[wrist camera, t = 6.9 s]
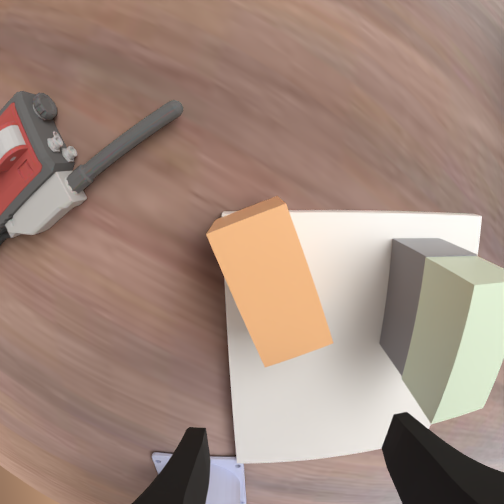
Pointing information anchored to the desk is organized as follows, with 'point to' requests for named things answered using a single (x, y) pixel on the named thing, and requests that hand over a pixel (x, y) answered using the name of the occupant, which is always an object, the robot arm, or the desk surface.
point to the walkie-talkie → (52, 162)
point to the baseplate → (334, 342)
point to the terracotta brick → (270, 280)
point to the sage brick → (456, 336)
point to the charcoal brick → (408, 291)
